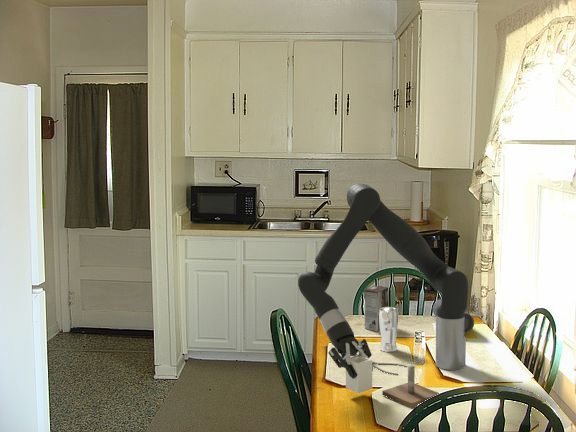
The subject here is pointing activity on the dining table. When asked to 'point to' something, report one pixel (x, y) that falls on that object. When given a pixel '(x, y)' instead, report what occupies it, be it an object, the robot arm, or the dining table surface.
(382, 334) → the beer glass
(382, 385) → the dining table surface
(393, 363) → the pliers
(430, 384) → the dining table surface
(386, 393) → the post stand
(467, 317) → the bluetooth speaker
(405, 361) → the dining table surface
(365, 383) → the sleeve
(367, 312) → the coffee box
